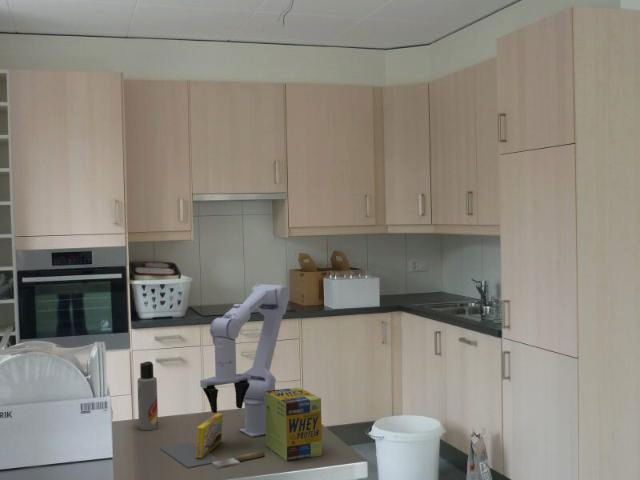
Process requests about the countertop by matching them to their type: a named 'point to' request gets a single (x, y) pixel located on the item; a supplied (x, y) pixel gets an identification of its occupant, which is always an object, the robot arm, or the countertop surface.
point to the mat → (187, 455)
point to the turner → (237, 459)
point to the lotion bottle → (147, 398)
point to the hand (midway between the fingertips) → (226, 409)
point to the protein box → (293, 423)
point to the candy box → (209, 435)
